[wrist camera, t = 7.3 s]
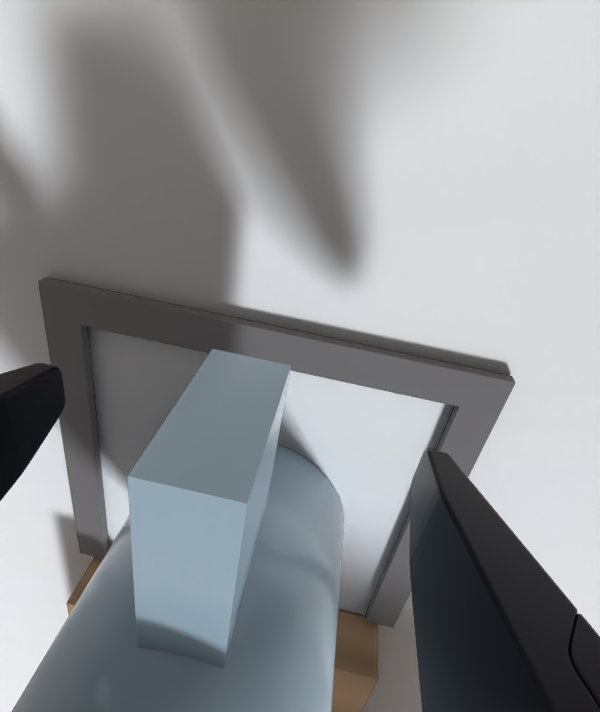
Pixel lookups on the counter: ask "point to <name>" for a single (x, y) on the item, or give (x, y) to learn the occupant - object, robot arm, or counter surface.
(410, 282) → the counter surface
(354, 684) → the cradle
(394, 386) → the frame
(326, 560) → the jug
